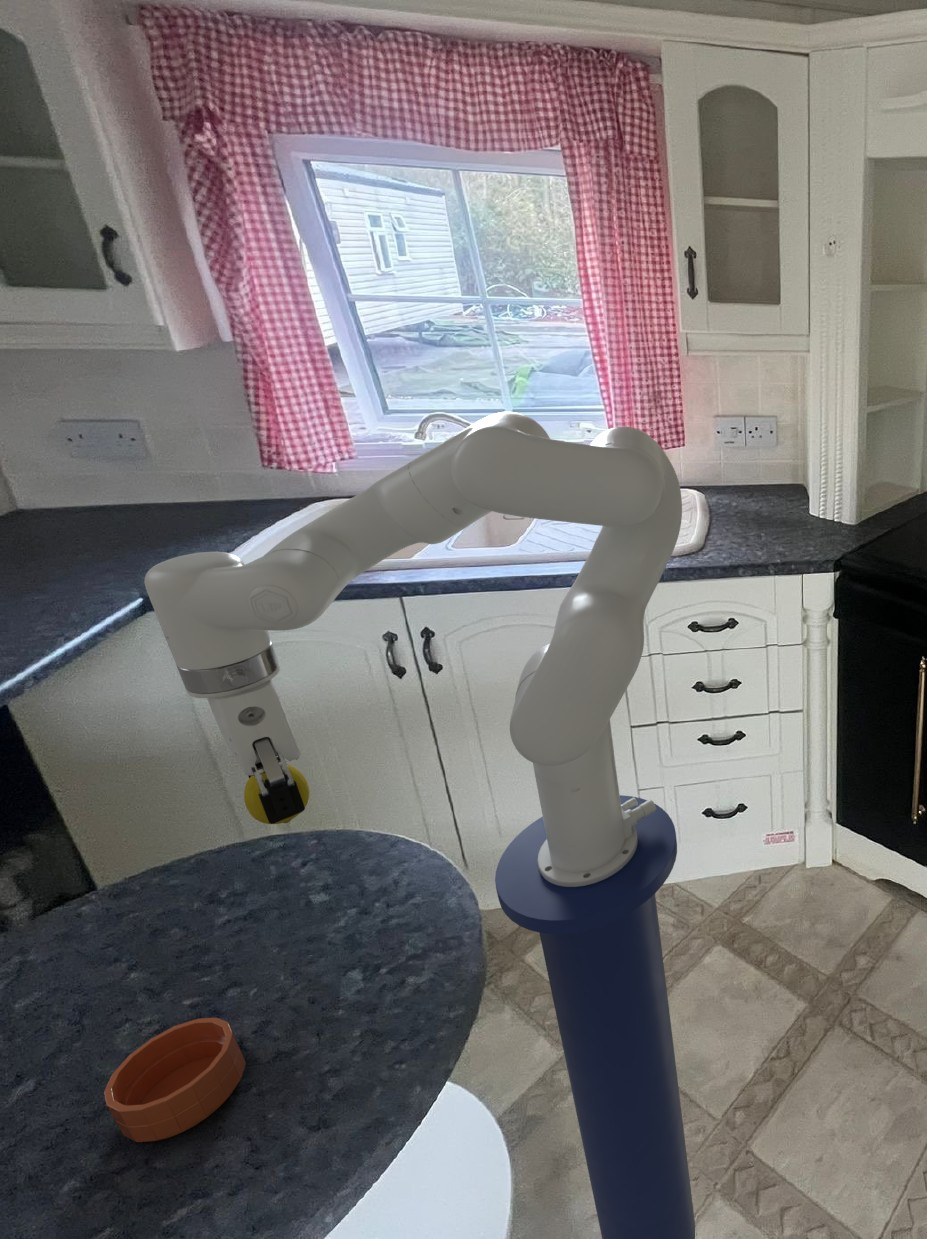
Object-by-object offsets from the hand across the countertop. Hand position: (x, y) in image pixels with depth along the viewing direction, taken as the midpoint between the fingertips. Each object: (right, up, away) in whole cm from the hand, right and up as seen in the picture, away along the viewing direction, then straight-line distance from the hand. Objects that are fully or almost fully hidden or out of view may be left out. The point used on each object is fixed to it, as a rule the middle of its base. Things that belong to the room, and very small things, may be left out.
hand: (280, 801), depth 84 cm
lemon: (0, -3, +1) cm, 3 cm away
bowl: (+3, -24, -13) cm, 28 cm away
